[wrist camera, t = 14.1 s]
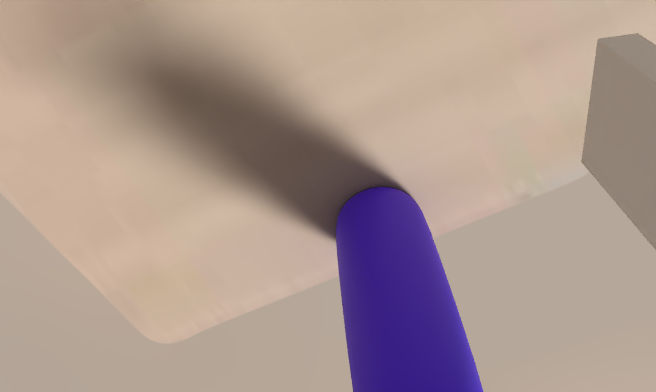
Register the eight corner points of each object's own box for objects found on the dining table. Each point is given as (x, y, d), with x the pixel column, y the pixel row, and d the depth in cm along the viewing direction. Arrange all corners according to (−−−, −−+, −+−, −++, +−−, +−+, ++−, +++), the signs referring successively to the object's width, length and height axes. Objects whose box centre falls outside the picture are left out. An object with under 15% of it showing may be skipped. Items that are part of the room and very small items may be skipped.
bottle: (324, 194, 53) (358, 545, 28) (416, 173, 52) (539, 513, 27) (343, 265, 57) (389, 623, 32) (429, 246, 57) (544, 596, 31)
